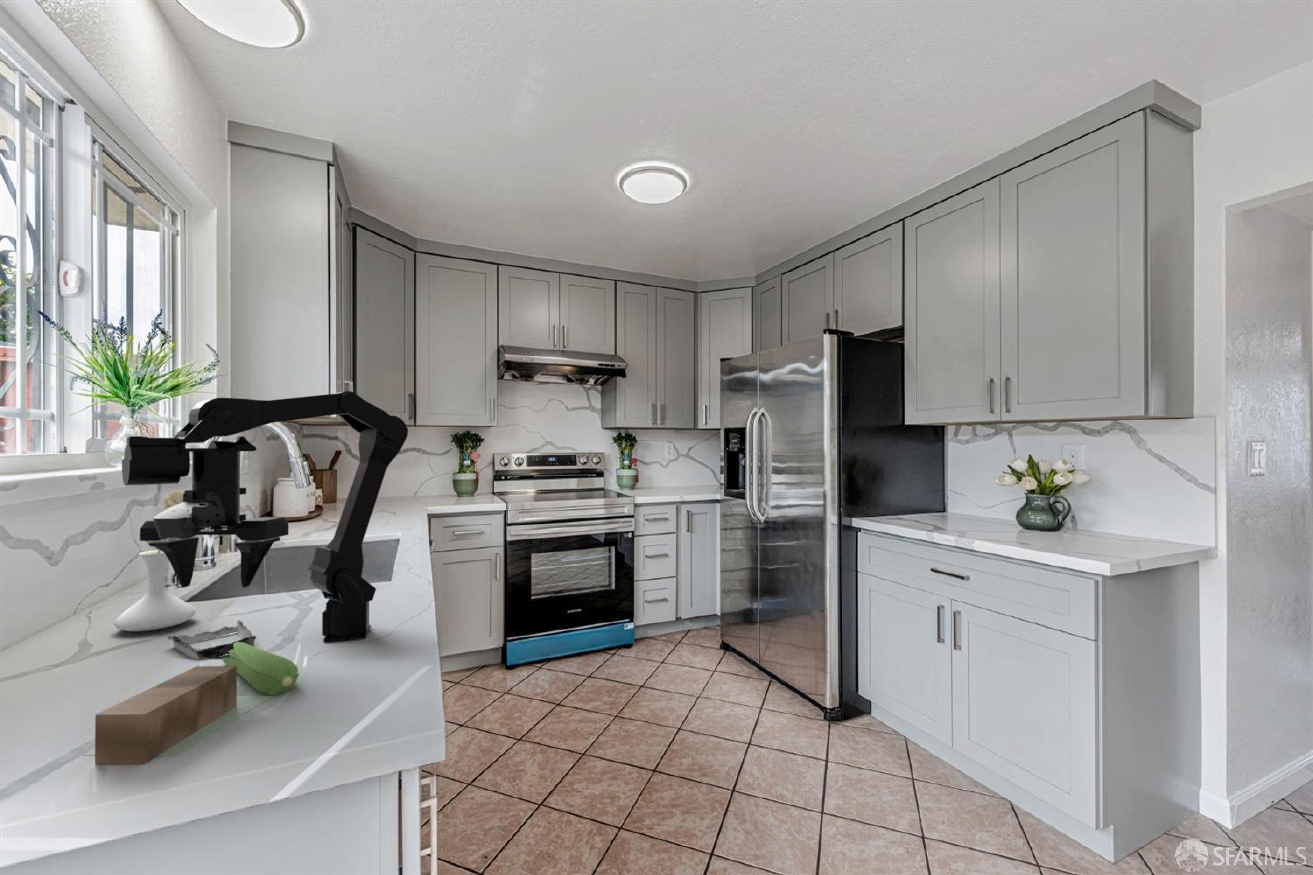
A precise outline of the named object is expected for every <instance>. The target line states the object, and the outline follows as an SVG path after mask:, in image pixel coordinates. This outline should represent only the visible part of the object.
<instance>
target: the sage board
mask: <svg viewBox="0 0 1313 875" xmlns="http://www.w3.org/2000/svg"><path fill="white" fill-rule="evenodd" d="M273 697H274V695H237V707H235V708H234V709H232V710H230V711H229V712H227V713H226V714H224V715H222V716H221V717H219V718H218V719H216V720H214V721H213V722H211V723H209V724H208V725H206V726H205V727H203V728H201V729H200V730H198V731H197V732H195V733H193V734H192V735H190V736H189V737H187V738H185V739H184V740H182V741H181V742H179V743H177V744H176V745H174V746H173V747H171V748H169V749H168V750H166V751H164V752H163V753H161V754H160V755H158V756H157V757H178V756H180V755H181V754H183V753H184V752H186V751H188V750H189V749H191V748H192V747H195V746H196V745H197V744H199V743H201V742H203V741H204V740H205V739H207V738H209V737H210V736H212V735H214V734H215V733H216V732H218V731H220V730H221V729H223V728H225V727H226V726H228V725H230V724H232V723H233V722H235V721H236V720H237V719H240V718H241V717H243V716H245V715H246V714H248V713H250V712H251V711H252V710H254V709H256V708H257V707H259V706H260V705H262V704H263V703H265V702H267V701H268V700H270V699H271V698H273ZM83 756H84V757H85V756H89V757H90V756H92V757H93V756H94V757H95V749H93V750H90V751H88V752H87V753H85V754H83Z"/></svg>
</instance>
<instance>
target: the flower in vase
mask: <svg viewBox="0 0 1313 875" xmlns="http://www.w3.org/2000/svg"><path fill="white" fill-rule="evenodd" d="M184 493H185V490H181V491H180V492H179V491H178V490H176V489H174V490H173V491H171V492H169V495H168V494H166V495H165V496H164V499H163V502H164V505H163V506H164V508H165V510H167V509H169V508H170V507H172V506H175V505H178V504H180V503H182V501H183V494H184ZM145 542H146V543H147V544H148V543H151V542H153V541H145ZM138 555H139V557H141V558H142V560H143V561H144V562H145V565H146V568H147V572H148V573H147V574H148V586H147V590H146V592H145V594H144V595H143V597H141V598H140V599H139V600H138V601H136V602H135V603H134V604H133V605H131V606H130V607H128V608H127V609H126V610H125V611H123V613H122V612H121V614H120V615H119V616H118V617H117V618H116V619H115V621H114V624H113V625H114V627H115V628H116V629H118V630H120V631H126V632H147V631H155V630H161V629H167V628H170V627H173V626H178V625H180V624H183V623H185V622H188V621H189V620H191V619H192V618H193V617H194V616H195V615H196V613H197V611H196V609H195V607H193V606H192V605H191V604H189V603H188V602H186V601H185V600H182V599H180V598H178V597H177V596H174V595H172V593H170V592H168V590H167V588H166V582H165V578H166V577H165V576H166V570H167V564H168V562H169V559H168V558H167V556H166V555H165V553H164V552H162V551H161V550H159V549H156V550H155V549H154V550H148V551H143V552H139V553H138Z"/></svg>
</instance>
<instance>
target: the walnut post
mask: <svg viewBox="0 0 1313 875" xmlns="http://www.w3.org/2000/svg"><path fill="white" fill-rule="evenodd" d="M237 677H238V673H237V666H227V665H208V666H207V665H204V666H202V665H201V666H200V665H196V666H194V667H192V668H190V669H188V670H186V671H184V672H182V673H180V674H178V675H175V676H173V677H172V678H169V679H167V680H165V681H163V682H161V683H158V684H156V685H155V686H153V687H151V688H148V689H146V690H144V691H142V692H140V693H137V694H136V695H134V696H131V697H130V698H127V699H125V700H123V701H121V702H119V703H117V704H115V705H113V706H111V707H108V708H107V709H104V710H102V711H100V712H98V713H96V714H95V719H94V720H95V724H94V725H95V728H94V730H95V732H94V733H95V734H94V739H95V740H94V741H95V742H94V746H95V747H94V748H95V756H94V764H95V765H146V764H147V763H149V762H150V761H151V760H153V759H154V758H156V757H159V756H158V755H160V754H161V753H163V752H164V751H166V750H168V749H169V748H171V747H173V746H174V745H176V744H177V743H179V742H181V741H182V740H184V739H185V738H187V737H189V736H190V735H192V734H193V733H195V732H197V731H198V730H200V729H201V728H203V727H205V726H206V725H208V724H209V723H211V722H213V721H214V720H216V719H218V718H219V717H221V716H222V715H224V714H226V713H227V712H229V711H230V710H232V709H234V708H235V707H237V696H238V693H237V692H238V691H237V690H238V686H237V685H238V678H237Z"/></svg>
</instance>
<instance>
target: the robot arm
mask: <svg viewBox="0 0 1313 875" xmlns="http://www.w3.org/2000/svg"><path fill="white" fill-rule="evenodd" d="M336 415H337V416H338V417H340V418H341V419H342V420H343V421H344V422H345V423H346V424H347V425H348V426H349V427H350V428H351V429H353V431H355V432H356V433H358V434H359V439H358V453H359V454H358V455H359V462H358V466H357V469H356V471H355V475H354V477H353V480H352V483H351V486H350V490H349V493H348V495H347V498H346V500H345V505H344V506H343V510H342V513H341V516H340V519H339V520H338V521H339V522H338V524H337V527H336V531H335V532H334V533H335V534H334V536H333V538H332V540H331V541H330V542H329V543H328V544H327V546H325V547H322V546H316V548H315V551H314V556H313V561H312V562H311V564H310V566H309V567H308V568H307V569H308V570H309V571H311V572H310V581H311V583H312V585H313V586H314V588H316V589H317V590H320V591H321V594H322V595H323V598H324V599H327V602H325V609H324V610H323V611H322V612H321V613H322V614H321V615H322V616H321V617H322V620H321V621H322V622H321V623H322V624H321V626H322V627H321V628H322V633H321V635H322V637H324V638H323V639H322V641H323V643H327V642H328V643H329V642H331V643H332V642H337V641H340V642H341V641H349V640H358V639H365V638H367V636H368V635H369V634H370V633H369V632H370V631H371V629H372V625H371V624H370V602H371V601H373V599H374V596H375V594H376V591H377V588H376V587H375V586H373V584H371V583H370V582H369V581H367V580H366V579H365V578H363V577H362V576H363V570H364V552H363V550H364V549H363V543H364V540H365V536H366V533H367V530H368V528H369V524H370V520H371V518H372V514H373V512H374V509H375V505H376V503H377V499H378V497H379V494H380V490H381V487H382V484H383V481H384V477H386V476H385V475H386V472H387V469H388V467H389V465H390V464H391V463H392V462H393V460H394V459H395V458H396V457H397V456H398V455H399V454H400V452H401V450H402V448H403V446H404V444H405V442H406V440H407V438H408V435H409V428H408V426H407V425H406V422H405V421H404V420H403V419H402V418H400V417H398V416H397V415H391V414H389V413H388V412H386V411H385V410H384V409H382V408H380V407H378V406H376V405H374V404H373V403H370V402H368V401H367V400H365V398H362V397H361V396H360V395H358V394H357V393H356V392H354V391H350V390H345V391H344V390H343V391H339V392H335V393H330V394H320V395H310V396H299V397H289V398H279V399H278V398H277V399H271V400H270V399H269V400H265V399H264V400H262V399H251V398H250V399H249V398H235V397H233V398H232V397H216V398H211V399H207V400H203V401H200V402H197V403H195V405H193V407H191V410H190V412H189V413H188V422H187V423H186V424H184V426H183V427H182V428H181V429H180V430H179V431H177V433H176V434H175V435H174V436H173V437H147V436H143V435H141V436H140V435H139V436H138V435H130V436H127V437H126V445H125V449H124V453H123V454H124V455H123V459H121V474H122V482H123V485H124V486H126V487H127V486H148V485H149V486H150V485H151V486H152V485H153V486H154V485H175V484H177V485H178V484H179V482H180V481H181V478H185V477H187V476H189V474H190V469H191V468H192V469H191V470H192V471H191V474H192V475H191V489H186V490H184V491H185V493H184V494H183V501H182V503H180V504H178V505H175V506H172V507H170V508H169V509H167V510H166V509H165V510H163V511H162V512H159V513H157V514H156V515H154V516H153V517H152V518H153V519H152V520H145V521H144V523H142V525H141V526H140V528H139V541H140V542H146V541H153V542H151V543H147V544H148V546H149V547H150V548H151V547H152V548H153V547H154V548H156V550H161V551H162V552H164V553H165V555H166V556H167V558H168V559H169V560H168V562H169V563H170V565H171V566H172V570H173V571H174V574H175V576H176V578H177V581H178V582H179V585H180V587H181V588H188V587H190V586H191V582H192V578H193V577H194V576H193V574H194V570H195V563H196V557H197V550H198V546H199V545H198V544H199V539H200V537H199V536H210V535H211V536H222V535H223V536H234V535H235V536H236V537H237V538H238V539H239V540H241V541H239V542H235V543H234V546H236V549H238V551H239V553H240V581H241V582H240V583H241V587H242V588H247V587H250V585H251V584H252V581H253V579H254V577H255V576H256V574H257V572H258V570H259V568H260V566H261V564H262V562H263V560H264V559H265V557H266V555H267V554H268V552H269V551H270V550H271V548H272V546H273V545H274V543H275V542H279V541H280V540H281V537H284V536H289V523H288V521H287V520H286V519H285V518H284V516H283V517H282V516H279V517H276V516H275V517H274V516H271V517H270V516H268V517H267V516H264V517H263V516H262V517H256V518H250V519H247V514H246V513H241V508H240V507H241V506H240V504H241V500H240V499H241V495H246V494H247V487H241V452H256V451H257V447H256V446H255V445H253V444H252V443H251V442H249V441H248V439H247V438H246V437H245V436H243V435H242V436H237V437H236V438H235V439H234V440H212V441H210V442H209V444H208V447H201V448H200V447H197V448H196V447H195V448H194V447H187V448H186V444H201V443H205V442H206V441H209V440H210V439H213V438H217V437H219V438H220V437H228V436H229V437H230V436H233V435H236V434H239V433H243V432H246V431H247V432H248V431H250V430H253V429H257V428H260V427H262V426H266V425H269V424H274V423H280V422H286V421H287V422H288V421H296V420H303V419H312V418H319V417H320V418H321V417H327V416H328V417H329V416H336ZM191 452H192V454H191ZM190 454H191V456H192V458H190ZM191 460H192V462H191ZM191 465H192V466H191Z"/></svg>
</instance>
